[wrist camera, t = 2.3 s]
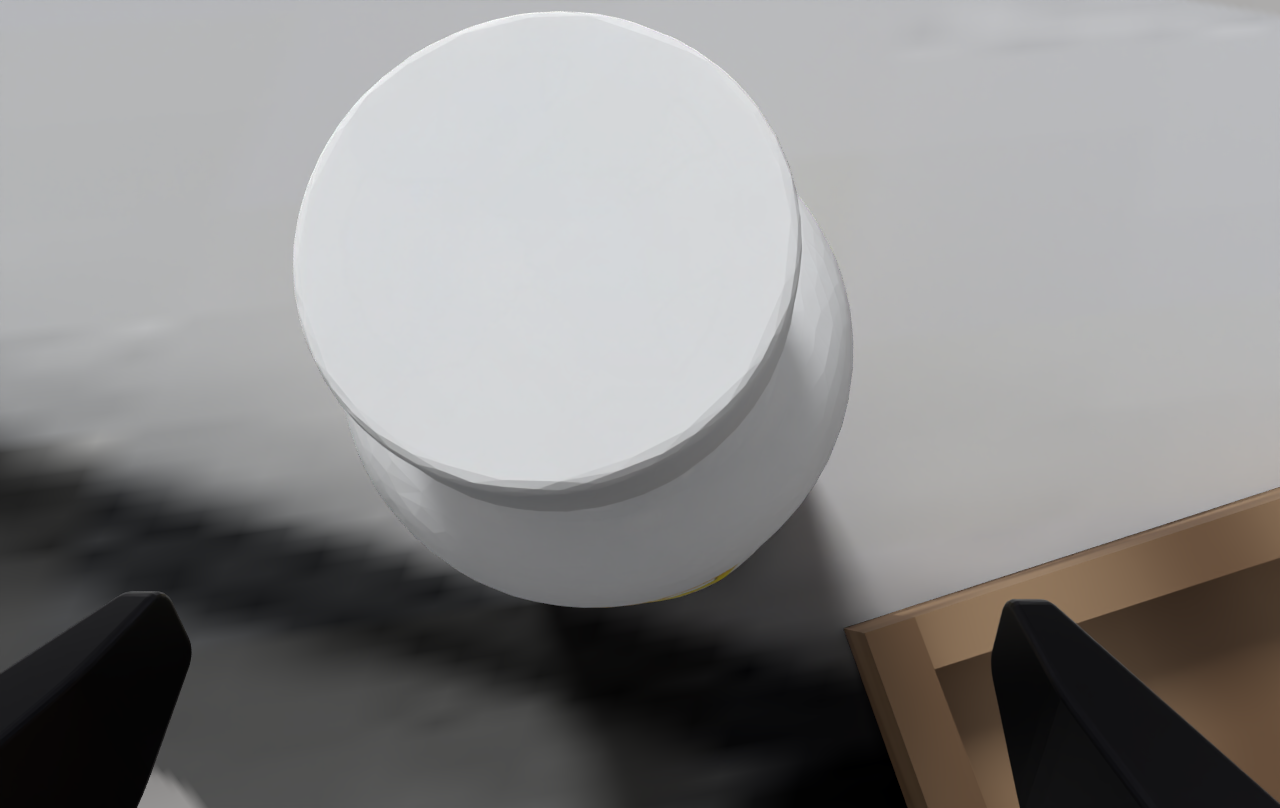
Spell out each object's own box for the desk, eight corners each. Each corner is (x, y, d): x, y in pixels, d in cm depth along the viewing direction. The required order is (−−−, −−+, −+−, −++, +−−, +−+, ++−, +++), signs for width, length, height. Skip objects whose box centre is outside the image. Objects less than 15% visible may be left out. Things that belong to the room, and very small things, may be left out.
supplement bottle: (649, 264, 21) (572, -209, 9) (850, 458, 20) (1093, 225, 8) (444, 453, 21) (46, 234, 8) (637, 666, 19) (512, 794, 7)
